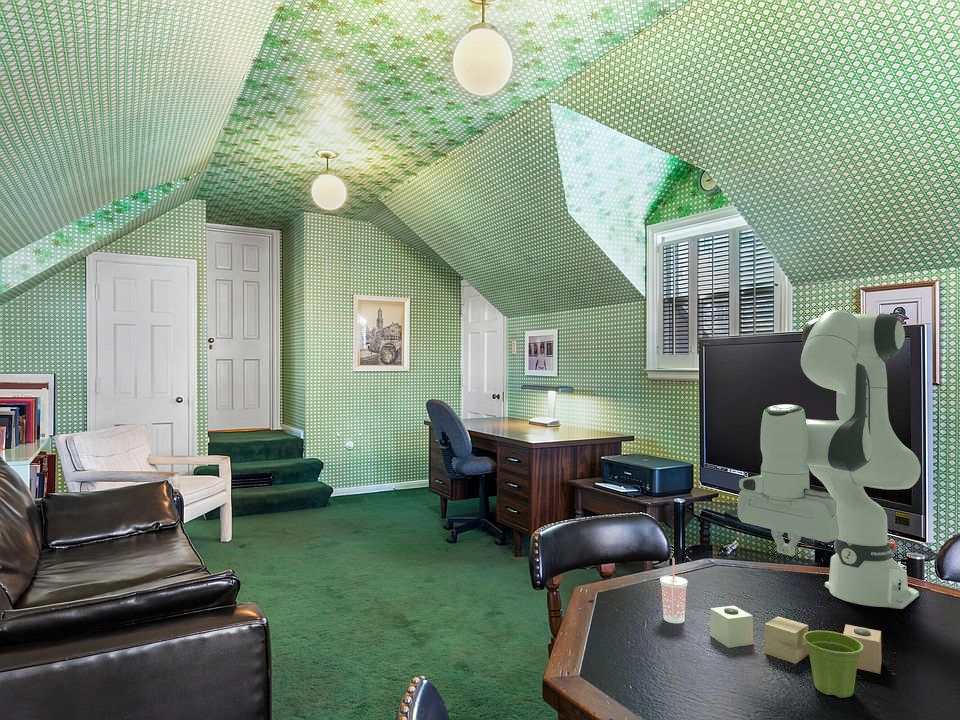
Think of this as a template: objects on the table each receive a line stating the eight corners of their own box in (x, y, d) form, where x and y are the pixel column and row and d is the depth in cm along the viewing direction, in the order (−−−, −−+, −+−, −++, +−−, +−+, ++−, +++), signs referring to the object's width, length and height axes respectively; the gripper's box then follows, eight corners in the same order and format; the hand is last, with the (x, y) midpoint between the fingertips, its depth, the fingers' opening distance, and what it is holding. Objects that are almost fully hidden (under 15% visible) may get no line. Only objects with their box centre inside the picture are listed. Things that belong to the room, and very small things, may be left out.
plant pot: (834, 707, 106) (833, 655, 107) (791, 681, 115) (791, 633, 116) (877, 699, 109) (876, 648, 109) (832, 674, 118) (831, 627, 118)
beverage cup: (689, 616, 146) (689, 556, 146) (686, 626, 140) (685, 563, 140) (662, 612, 148) (661, 553, 149) (658, 621, 143) (657, 560, 143)
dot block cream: (734, 633, 137) (733, 604, 137) (753, 644, 131) (752, 614, 131) (710, 636, 135) (710, 606, 135) (728, 648, 129) (728, 617, 130)
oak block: (778, 645, 131) (778, 616, 131) (808, 655, 126) (808, 625, 126) (764, 653, 127) (764, 623, 127) (795, 664, 122) (795, 633, 122)
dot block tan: (846, 654, 127) (845, 622, 127) (881, 662, 123) (880, 629, 123) (843, 665, 122) (843, 633, 122) (880, 674, 118) (879, 640, 118)
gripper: (845, 492, 120) (846, 564, 120) (751, 476, 137) (752, 539, 137) (826, 496, 117) (827, 570, 116) (732, 479, 134) (733, 544, 134)
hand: (786, 553), depth 127 cm, fingers closed
